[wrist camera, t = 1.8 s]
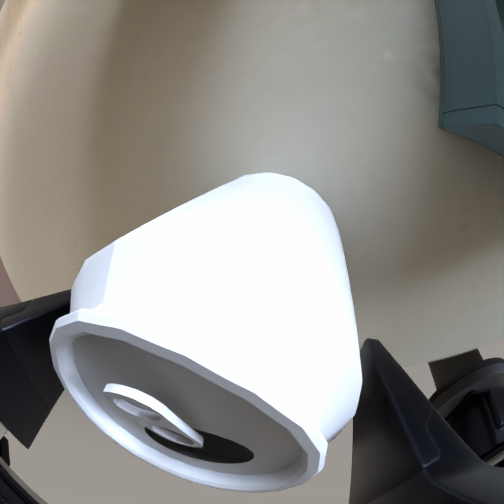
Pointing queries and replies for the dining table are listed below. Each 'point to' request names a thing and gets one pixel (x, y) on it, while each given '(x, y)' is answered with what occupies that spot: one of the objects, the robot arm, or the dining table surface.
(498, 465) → the robot arm
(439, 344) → the dining table surface
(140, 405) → the can
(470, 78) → the box
